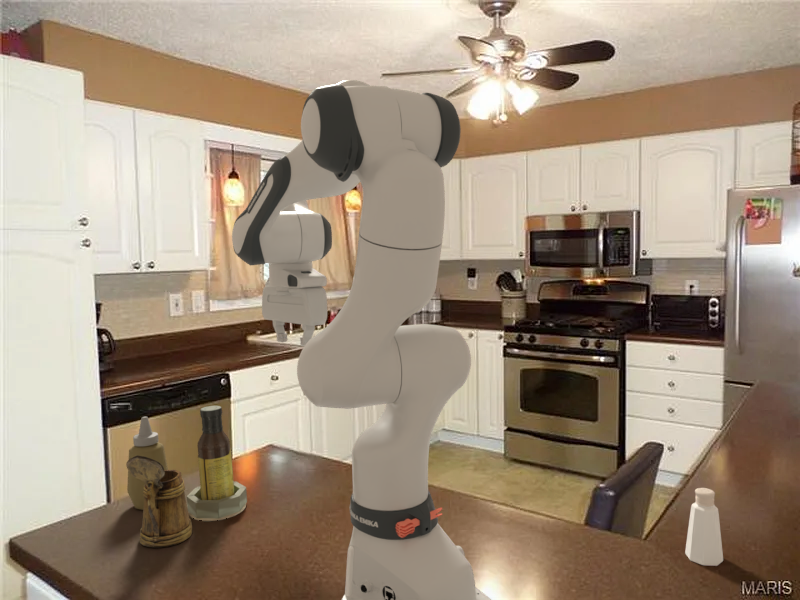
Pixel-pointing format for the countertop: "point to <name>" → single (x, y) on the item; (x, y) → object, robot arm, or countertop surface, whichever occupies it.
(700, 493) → the salt shaker
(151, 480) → the wooden mug
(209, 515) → the grey faceted bowl
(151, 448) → the squeeze bottle
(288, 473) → the countertop surface
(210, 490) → the sauce bottle
